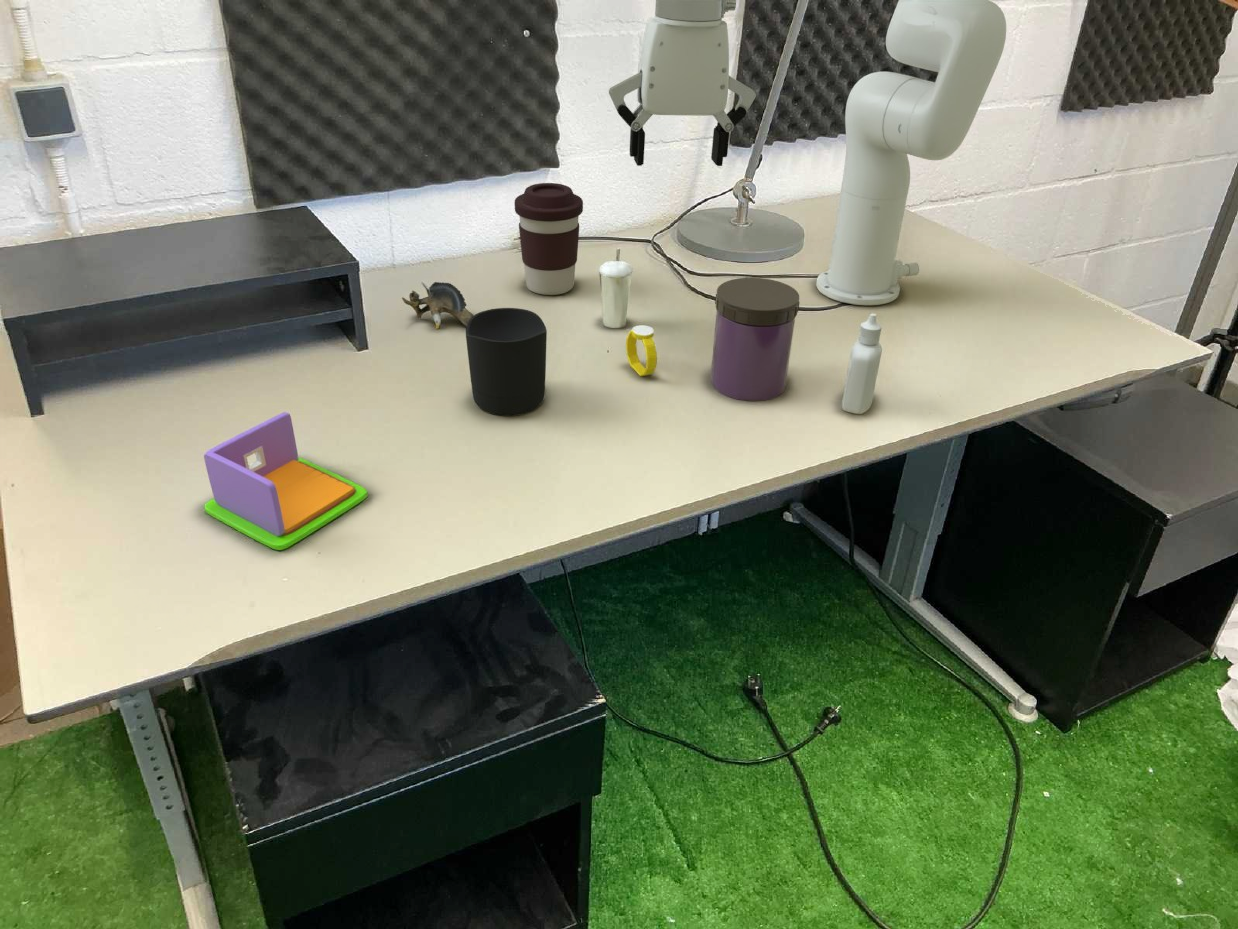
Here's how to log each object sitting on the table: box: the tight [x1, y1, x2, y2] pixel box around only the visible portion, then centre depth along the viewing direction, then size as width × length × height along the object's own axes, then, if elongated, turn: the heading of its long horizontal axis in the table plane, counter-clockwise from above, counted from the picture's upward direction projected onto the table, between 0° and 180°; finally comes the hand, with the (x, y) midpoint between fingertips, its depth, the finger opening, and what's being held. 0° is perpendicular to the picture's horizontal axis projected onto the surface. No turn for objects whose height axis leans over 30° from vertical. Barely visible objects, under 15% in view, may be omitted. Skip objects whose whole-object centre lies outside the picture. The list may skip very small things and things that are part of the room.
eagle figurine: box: [401, 280, 475, 330], centre depth 134 cm, size 8×7×9 cm
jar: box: [709, 310, 796, 402], centre depth 119 cm, size 10×10×12 cm
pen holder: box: [465, 307, 548, 417], centre depth 115 cm, size 9×9×10 cm
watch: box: [625, 324, 658, 377], centre depth 123 cm, size 6×3×6 cm, turn 27°
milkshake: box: [598, 247, 633, 329], centre depth 134 cm, size 4×5×10 cm
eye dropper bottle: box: [841, 313, 883, 415], centre depth 115 cm, size 4×6×12 cm
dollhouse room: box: [203, 411, 368, 551], centre depth 96 cm, size 12×12×7 cm
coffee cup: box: [514, 182, 584, 296], centre depth 143 cm, size 10×10×15 cm
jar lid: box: [714, 277, 800, 326], centre depth 116 cm, size 10×10×2 cm
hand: (677, 162), depth 116 cm, fingers open, 9 cm apart
